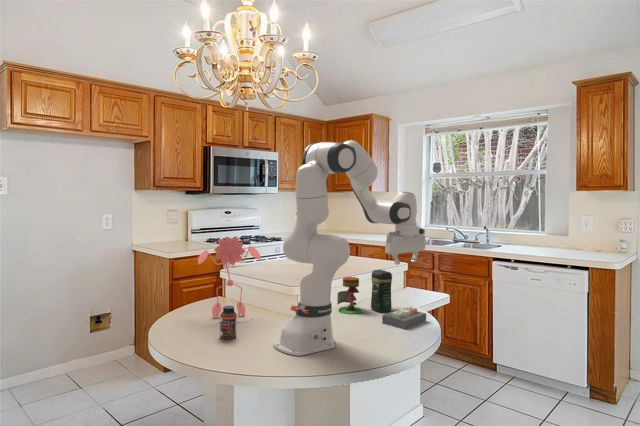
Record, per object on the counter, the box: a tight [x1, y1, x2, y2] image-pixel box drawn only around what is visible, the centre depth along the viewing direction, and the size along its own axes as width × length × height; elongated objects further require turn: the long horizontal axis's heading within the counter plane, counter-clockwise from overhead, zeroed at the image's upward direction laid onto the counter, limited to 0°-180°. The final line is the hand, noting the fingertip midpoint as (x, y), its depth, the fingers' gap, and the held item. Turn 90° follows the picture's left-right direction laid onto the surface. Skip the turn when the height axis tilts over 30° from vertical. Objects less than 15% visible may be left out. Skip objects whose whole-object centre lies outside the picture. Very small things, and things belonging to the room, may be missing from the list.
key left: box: [391, 310, 404, 319], centre depth 176 cm, size 4×4×3 cm
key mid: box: [398, 308, 411, 316], centre depth 179 cm, size 4×4×3 cm
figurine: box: [197, 235, 261, 325], centre depth 179 cm, size 15×26×35 cm, turn 105°
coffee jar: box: [370, 269, 393, 313], centre depth 197 cm, size 10×8×19 cm
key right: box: [405, 306, 418, 314], centre depth 183 cm, size 4×4×3 cm
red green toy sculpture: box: [336, 276, 363, 315], centre depth 196 cm, size 12×13×15 cm
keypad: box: [381, 307, 427, 330], centre depth 179 cm, size 16×11×3 cm
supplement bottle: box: [219, 305, 238, 340], centre depth 158 cm, size 6×6×11 cm
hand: (405, 263), depth 181 cm, fingers open, 8 cm apart
